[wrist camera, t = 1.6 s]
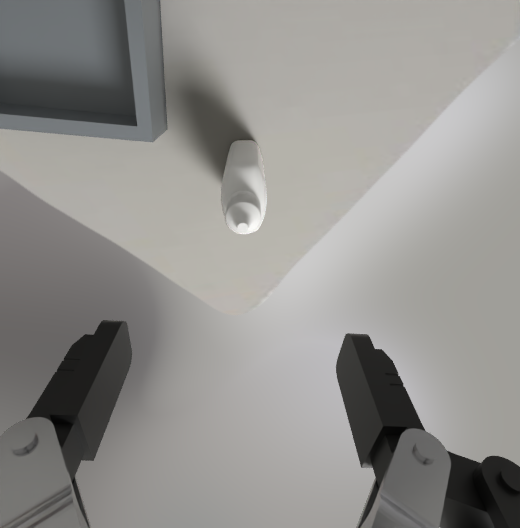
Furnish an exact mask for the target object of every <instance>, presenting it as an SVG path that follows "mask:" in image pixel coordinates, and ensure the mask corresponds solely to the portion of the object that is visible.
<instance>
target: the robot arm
mask: <svg viewBox="0 0 520 528" xmlns="http://www.w3.org/2000/svg"><path fill="white" fill-rule="evenodd" d="M131 359H132V349H131V344H130V338H129V332H128V326H127V323H126V322H125V321H108V320H103V321H102V322H101V323H100V325H99V326H98V328H97V330H96V332H95V334H94V335H87V334H85V335H84V336H83V337H81V338H80V339H79V340H78V341H77V342H76V343H74V344H73V345H72V346H71V348H70V349H69V351H68V353H67V354H66V356H65V358H64V361H62V363H61V364H60V366H59V368H58V369H57V372H55V374H54V375H53V377H52V379H51V381H50V382H49V384H48V385H47V387H46V388H45V390H44V392H43V393H42V395H41V397H40V398H39V400H38V401H37V403H36V405H35V406H34V408H33V410H32V411H31V413H30V414H29V416H28V417H27V418H26V419H25V420H22V421H20V422H18V423H16V424H14V425H13V426H11V427H10V428H8V429H7V430H6V431H5V432H4V433H3V434H2V435H1V436H0V528H91V525H90V522H89V519H88V516H87V512H86V509H85V505H84V502H83V499H82V496H81V492H80V489H79V486H78V482H77V479H76V476H75V474H76V472H77V469H78V467H79V465H80V462H81V460H91V461H93V460H94V458H95V456H96V453H97V450H98V448H99V445H100V442H101V440H102V438H103V435H104V432H105V430H106V427H107V425H108V422H109V420H110V417H111V414H112V411H113V409H114V407H115V404H116V401H117V399H118V396H119V393H120V391H121V389H122V386H123V383H124V380H125V378H126V376H127V373H128V371H129V367H130V364H131ZM336 373H337V379H338V383H339V386H340V390H341V394H342V397H343V401H344V404H345V409H346V412H347V416H348V420H349V423H350V427H351V431H352V435H353V438H354V442H355V446H356V449H357V453H358V457H359V460H360V464H361V467H362V468H373V470H374V473H375V476H376V478H375V480H374V483H373V485H372V488H371V490H370V493H369V496H368V498H367V501H366V503H365V506H364V509H363V511H362V514H361V516H360V519H359V522H358V524H357V527H356V528H439V527H440V528H520V467H519V466H518V465H516V464H515V463H513V462H511V461H510V460H508V459H505V458H502V457H499V456H489V457H487V458H485V460H483V462H482V463H478V462H476V461H473V460H470V459H468V458H465V457H462V456H459V455H456V454H453V453H451V452H449V451H447V450H446V449H445V447H444V446H443V445H442V443H441V442H440V441H439V440H438V439H437V438H435V437H434V436H433V435H431V434H430V433H428V432H426V431H425V429H424V427H423V425H422V423H421V421H420V419H419V417H418V415H417V413H416V410H415V408H414V406H413V404H412V402H411V400H410V397H409V395H408V393H407V391H406V389H405V387H403V382H402V380H401V378H400V376H398V372H397V370H396V367H395V365H394V363H393V361H392V360H391V359H390V358H389V357H388V356H387V355H386V354H385V352H384V351H383V350H382V349H375V348H374V346H373V344H372V341H371V339H370V337H369V336H368V335H367V334H346V336H345V338H344V341H343V344H342V347H341V350H340V353H339V356H338V360H337V365H336Z"/></svg>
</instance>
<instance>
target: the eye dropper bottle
mask: <svg viewBox="0 0 520 528" xmlns="http://www.w3.org/2000/svg"><path fill="white" fill-rule="evenodd" d="M221 203H222V209H223V213H224V216H225V221H226V224H227V226H228V227H229V228H230V229H231V230H232V231H234V232H235V233H239V234H248V233H252V232H255V231H257V230H258V229H259V227H260V226H261V224H262V221H263V219H264V216H265V212H266V206H267V191H266V182H265V173H264V165H263V159H262V155H261V152H260V149H259V147H258V145H257V143H256V142H255V141H252V140H238V141H234V142H233V143H232V144H231V147H230V150H229V153H228V157H227V162H226V166H225V171H224V175H223V180H222V187H221Z"/></svg>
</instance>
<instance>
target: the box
mask: <svg viewBox="0 0 520 528" xmlns="http://www.w3.org/2000/svg"><path fill="white" fill-rule="evenodd" d="M0 129H11V130H22V131H33V132H44V133H55V134H66V135H78V136H89V137H100V138H111V139H122V140H133V141H144V142H154V141H155V140H156V139H157V138H158V137H159V136H160V135H161V134H163V133H164V132H165V131H166V130H167V115H166V97H165V80H164V63H163V45H162V28H161V11H160V0H0Z"/></svg>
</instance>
